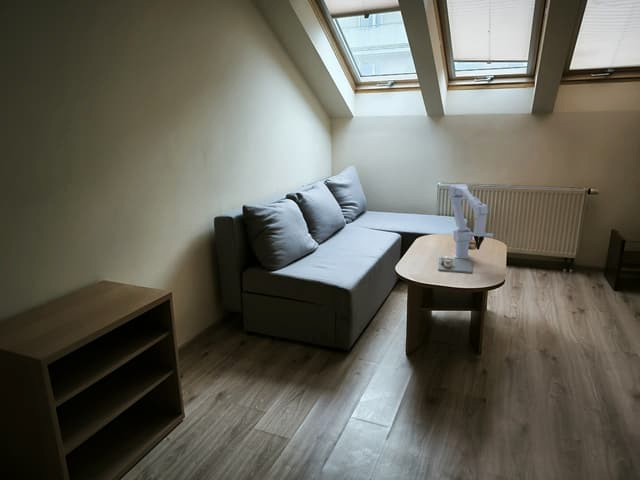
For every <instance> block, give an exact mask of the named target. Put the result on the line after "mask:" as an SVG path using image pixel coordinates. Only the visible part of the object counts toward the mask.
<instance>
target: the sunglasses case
mask: <svg viewBox="0 0 640 480" xmlns="http://www.w3.org/2000/svg"><path fill="white" fill-rule="evenodd" d="M478 243H479V241H478ZM468 250H476V242H475V239H474V238H472V240H471V241H470V243H469V247H468Z"/></svg>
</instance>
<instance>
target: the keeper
mask: <svg viewBox="0 0 640 480" xmlns="http://www.w3.org/2000/svg"><path fill="white" fill-rule="evenodd" d="M440 258H441V265H444V260H453V259H454V257H453V256H451V257H446V256H443V255H442V256H440Z"/></svg>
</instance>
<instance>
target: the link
mask: <svg viewBox="0 0 640 480" xmlns="http://www.w3.org/2000/svg"><path fill="white" fill-rule="evenodd" d="M445 257H452V255H451V254H450V255H449V254H446V255H445ZM444 267H445V268H451V260H445V265H444Z"/></svg>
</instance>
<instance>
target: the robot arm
mask: <svg viewBox="0 0 640 480" xmlns="http://www.w3.org/2000/svg"><path fill="white" fill-rule="evenodd" d="M447 190H448V191H447V192H448V196H449V200H450V202H451V206H452V211H453V215H454V220H455V225H456V227H455V229H454V231H453V240H454V242H455V244H456V245H455V252H454V259H466V260H470V259H469V249H468V247H469V243H470V241H471V240H472V239H473V240H475V242H476V247H475V250H480V248H481V245H482V243H483V241H484V240H485V238H490V239H492V238H494V237H493V236H494V234H493V233H487V232H486V221H487V215H488V214H489V213H490V208H489V205H488V204H486V203H483V202H481V200H480V199H479V198H478V197H477V196H473V195H472V193H471V192H470V191H469V186H467V184H465V183H464V184H451V185H450V186H449V187H448V189H447ZM464 199H465V200H467V201H468V202H467V203H468V206H469V207H470V208H471V209H472V210H473V215H474V227H473V232H472V231H471V229H470V227H468V226H466V221H465V216H464V212H463V207H462V203H461V202H462V200H464ZM478 242H479V243H478Z"/></svg>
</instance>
